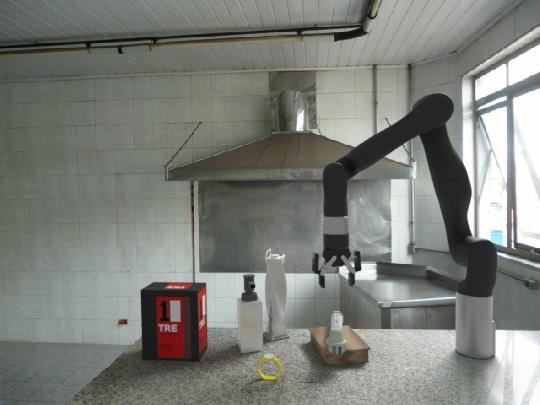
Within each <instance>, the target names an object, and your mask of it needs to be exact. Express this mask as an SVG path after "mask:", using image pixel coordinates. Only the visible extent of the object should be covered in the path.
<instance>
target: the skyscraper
mask: <svg viewBox="0 0 540 405" xmlns="http://www.w3.org/2000/svg"><path fill="white" fill-rule="evenodd" d="M268 253H269V255H268ZM264 260H265V265H266V271H265V272H266V273H265V279H264V300H265V308H266V312H267V313H266V314H267V318H268V320H267V326H266V329H265V331H263V338H265V339H266V340H267V341H269V343H271V342H277V341H282V340H285V339H290V338H291V337H290V335H288V333H287V329H286V325H285V322H284V315H285V311H286V305H287V296H288V282H287V277H286V271H285V268H284V264H285V261H286V254H282V255H281V256H280V254H278V253H277V254H276V253H272V249H271V248H268V250H266V253H265V256H264Z"/></svg>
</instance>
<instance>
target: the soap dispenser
mask: <svg viewBox="0 0 540 405" xmlns="http://www.w3.org/2000/svg"><path fill="white" fill-rule="evenodd" d="M255 276H256V275H255V274H254V273H250V274H249V273H248V274H247V273H246V274H243V275H242V277H243V292H242V293H241V297H236V302H237V303H236V306H237V313H236V314H237V318H236V319H237V345H238V348H239V350H240V353H241V354H247V353H255V352H261V351H262V352H263V351H264V337H263V332H264V330H263V329H264V328H263V326H264V324H263V321H264V320H263V317H264V316H263V302H262V300H261V298H259V296H258V293H257V292H256V291H255V289H256V284H255Z"/></svg>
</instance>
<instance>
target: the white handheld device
mask: <svg viewBox="0 0 540 405" xmlns="http://www.w3.org/2000/svg"><path fill="white" fill-rule="evenodd" d="M329 322H330V327H331V329H330V334H329V338H328V339H327V341H326V343H327V344H328V351H330V353H334V354H342V353H343V352H345V345H346V344H347V342H346V340H345V339H344V336H343V330H342V326H343V324H344V322H345V317H344V314H343V313H342V312H341V311H340V310H334V311H332V313H331V314H330V315H329Z"/></svg>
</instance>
